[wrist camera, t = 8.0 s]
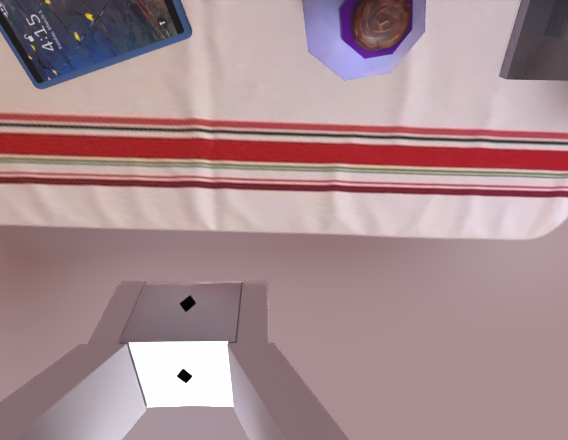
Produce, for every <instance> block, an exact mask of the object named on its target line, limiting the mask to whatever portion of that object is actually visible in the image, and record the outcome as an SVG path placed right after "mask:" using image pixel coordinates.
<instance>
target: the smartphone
mask: <svg viewBox="0 0 568 440" xmlns="http://www.w3.org/2000/svg"><path fill="white" fill-rule="evenodd" d="M0 32H1V33H2V35H3V36H4V38H5V40H6V41H7V43H8V44H9V46H10V48H11V49H12V51H13V52H14V54H15V56H16V57H17V59H18V60H19V62H20V64H21V65H22V67H23V68H24V70H25V72H26V73H27V75H28V76H29V78H30V80H31V81H32V83H33V84H34V86H35V87H36V88H38V89H45V88H48V87H51V86H53V85H56V84H59V83H62V82H65V81H68V80H70V79H73V78H76V77H79V76H82V75H85V74H88V73H90V72H93V71H96V70H99V69H102V68H105V67H108V66H110V65H113V64H116V63H119V62H122V61H125V60H128V59H130V58H133V57H136V56H139V55H142V54H145V53H148V52H150V51H153V50H156V49H159V48H162V47H165V46H168V45H170V44H173V43H176V42H179V41H182V40H185V39H187V38H189V37H190V36H191V35H192V29H191V26H190V24H189V22H188V20H187V17H186V13H185V11H184V9H183V6H182V3H181V1H180V0H0Z"/></svg>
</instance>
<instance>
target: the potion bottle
mask: <svg viewBox="0 0 568 440" xmlns="http://www.w3.org/2000/svg"><path fill="white" fill-rule="evenodd" d="M302 2H303V11H304V20H305V28H306V37H307V45H308V52H309V53H310V54H312V55H313V56H314V57H315V58H317V59H318V60H319V61H320V62H322V63H323V64H324V65H325V66H327V67H328V68H329V69H330V70H332V71H333V72H334V73H335V74H337V75H338V76H339V77H340V78H342V79H343V80H344V81H346V80H352V79H358V78H364V77H370V76H376V75H382V74H388V73H391V72H392V71H393V70H394V69H395V67H396V66H397V65H398V64H399V62H400V61H401V60H402V59H403V58H404V56H405V55H406V54H407V53H408V52H409V50H410V49H411V48H412V47H413V45H414V44H415V43H416V42H417V41H418V39H419V38H420V37H421V36H422V35H423V33H424V32H425V11H426V0H302Z"/></svg>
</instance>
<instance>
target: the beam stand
mask: <svg viewBox="0 0 568 440" xmlns="http://www.w3.org/2000/svg"><path fill="white" fill-rule="evenodd" d="M499 77H502V78H504V79H515V80H567V81H568V0H522V1H521V5H520V8H519V11H518V15H517V18H516V22H515V25H514V28H513V32H512V35H511V39H510V42H509V45H508V49H507V52H506V56H505V59H504V62H503V66H502V69H501V73H500V76H499Z"/></svg>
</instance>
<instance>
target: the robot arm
mask: <svg viewBox="0 0 568 440" xmlns="http://www.w3.org/2000/svg"><path fill="white" fill-rule="evenodd" d="M190 405H191V406H192V405H193V406H233V407H234V410H235V412H236V414H237V416H238V419H239V421H240V422H241V425H242V426H243V429H244V431H245V433H246V435H247V437H248V439H249V440H349V439H348V438H347V436H346V435H345V434H344V432H343V431H342V430H341V429H340V427H339V426H338V425H337V423H336V422H335V421H334V419H333V418H332V417H331V415H330V414H329V413H328V412H327V410H326V409H325V408H324V406H323V405H322V404H321V403H320V401H319V400H318V399H317V397H316V396H315V395H314V394H313V392H312V391H311V390H310V389H309V387H308V386H307V384H306V383H305V382H304V381H303V380H302V378H301V377H300V376H299V374H298V373H297V372H296V370H295V369H294V368H293V366H292V365H291V364H290V363H289V361H288V360H287V359H286V358H285V356H284V355H283V354H282V352H281V351H280V350H279V348H278V347H277V346H276V344H275V343H269V334H268V282H267V281H266V280H263V281H242V282H241V281H236V282H166V281H148V282H141V281H123V282H121V283H120V284H119V285H118V286H117V287H116V289H115V291H114V293H113V296H112V297H111V299H110V301H109V303H108V305H107V307H106V309H105V311H104V313H103V315H102V317H101V319H100V321H99V323H98V325H97V327H96V329H95V331H94V333H93V335H92V337H91V339H90V341H89V343H88V344H80V345H78V346H77V347H75V348H74V349H73V350H71V351H70V352H68V353H67V354H66V355H64V356H63V357H62V358H60V359H59V360H57V361H56V362H55V363H53V364H52V365H51V366H49V367H48V368H46V369H45V370H44V371H42V372H41V373H40V374H38V375H37V376H35V377H34V378H33V379H31V380H30V381H29V382H27V383H26V384H25V385H23V386H22V387H20V388H19V389H18V390H16V391H15V392H13V393H12V394H11V395H9V396H8V397H7V398H5V399H4V400H3V401H1V402H0V440H122V438H123V437H124V436H125V435H126V434H127V432H128V431H129V430H130V429H131V428H132V427H133V425H134V424H135V423H136V422H137V421H138V419H139V418H140V417H141V416H142V415H143V414H144V412H145V411H146V407H164V406H190Z"/></svg>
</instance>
